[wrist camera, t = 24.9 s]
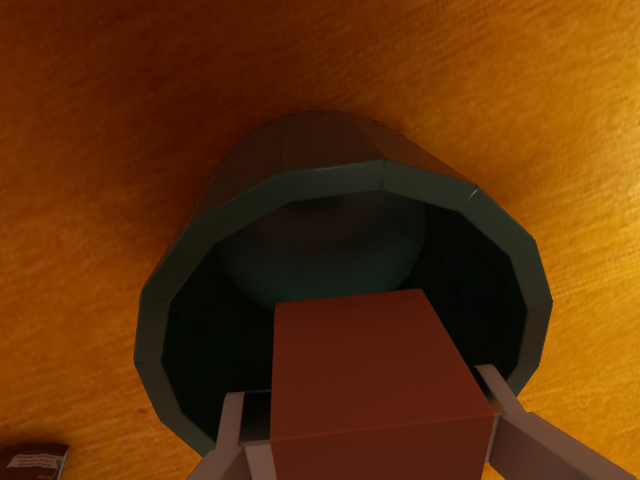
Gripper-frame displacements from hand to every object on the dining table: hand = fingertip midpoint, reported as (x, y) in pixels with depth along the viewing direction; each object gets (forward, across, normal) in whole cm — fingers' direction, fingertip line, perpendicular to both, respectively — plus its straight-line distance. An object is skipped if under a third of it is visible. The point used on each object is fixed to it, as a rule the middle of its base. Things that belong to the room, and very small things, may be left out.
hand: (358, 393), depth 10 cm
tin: (+11, 0, 0) cm, 11 cm away
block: (+2, 0, 0) cm, 2 cm away
